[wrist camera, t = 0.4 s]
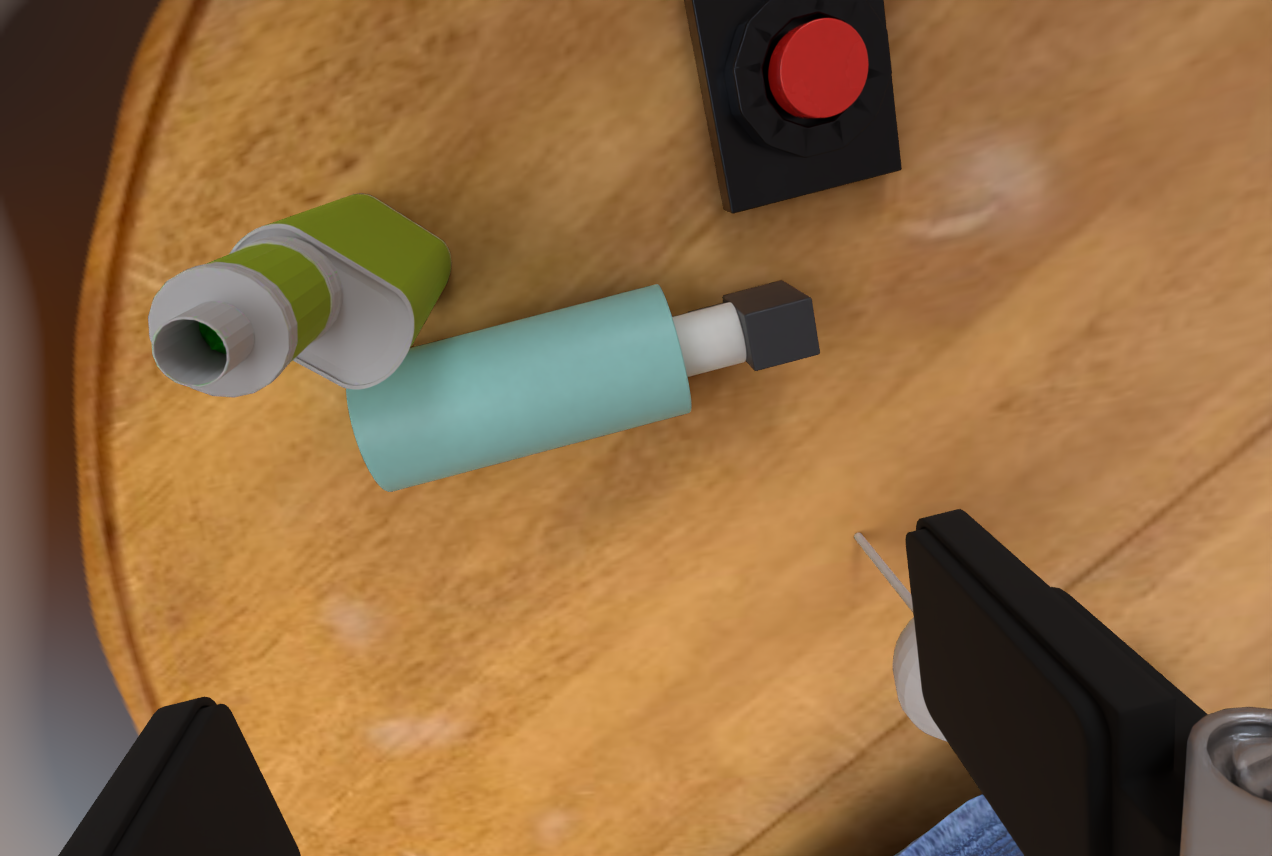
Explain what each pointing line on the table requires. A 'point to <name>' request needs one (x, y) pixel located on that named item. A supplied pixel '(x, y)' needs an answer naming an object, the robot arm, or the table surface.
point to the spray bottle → (564, 378)
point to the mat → (966, 834)
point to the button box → (764, 132)
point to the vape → (302, 301)
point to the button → (818, 68)
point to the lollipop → (905, 655)
